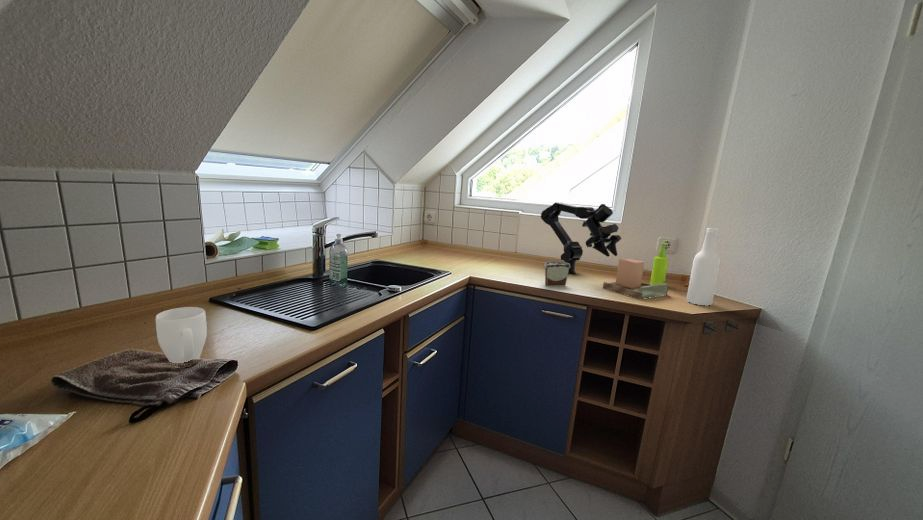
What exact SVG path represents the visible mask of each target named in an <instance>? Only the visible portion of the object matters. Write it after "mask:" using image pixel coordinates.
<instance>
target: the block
mask: <svg viewBox="0 0 923 520" xmlns="http://www.w3.org/2000/svg"><path fill="white" fill-rule="evenodd" d="M644 265H645V261H641V260H638V259H632V258H628V257H627V258H619V259H618V265H617V272H616V277H615V279H616V280H615V282H616V284H620V285H623V286H627V287H630V288H635V287H640V286H641V282H642V280H643V273H644V272H643V271H644Z"/></svg>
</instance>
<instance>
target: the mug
mask: <svg viewBox="0 0 923 520" xmlns="http://www.w3.org/2000/svg"><path fill="white" fill-rule="evenodd" d="M206 316H207V315H206V310H205V309H204V308H202V307H196V306H186V307H185V306H184V307H176V308H170V309H167V310H164V311H161V312H159V313H157V314H156V316H155V328H156V337H157V342H158V345H159V347H160V349H161V351H162V352H163V354H164V355H165V357H166V358H167V360H168V361H169V363H170V362H172V363H184V362H188V361H190V360H192V359H199V360H200V358H201V355H202V352H203V349H204V348H205V347H204V346H205V343H206V340H207V335H208V332H207V331H208V328H207V327H208V326H207V317H206Z"/></svg>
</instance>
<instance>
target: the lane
mask: <svg viewBox="0 0 923 520" xmlns="http://www.w3.org/2000/svg"><path fill="white" fill-rule="evenodd" d="M602 289H605V290H607V289H608V290H607V291H611V292H614V291H615V293H617V292H618V294H620V293H621V295H623V294H625V295H624V296H627V295H628V296H627V297H630V296H632V297H631V298H633V297H635V298H634V299H636V298H638V299H637V300H639V299H642V300H645V299H644V298H648V299H650V298H649V297H653V298H656V297H655V296H659V297H663V296H662V295H665V296H668V291H669V289H668V283H665V282H664V283H663V284H656V285H651V284H650V283H648V282H647V283H646V282H642V281H641V286H640V287H635V288H630V287H627V286H623V285H620V284H616V281H614V282H605V281H604V282H603V285H602Z"/></svg>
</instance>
